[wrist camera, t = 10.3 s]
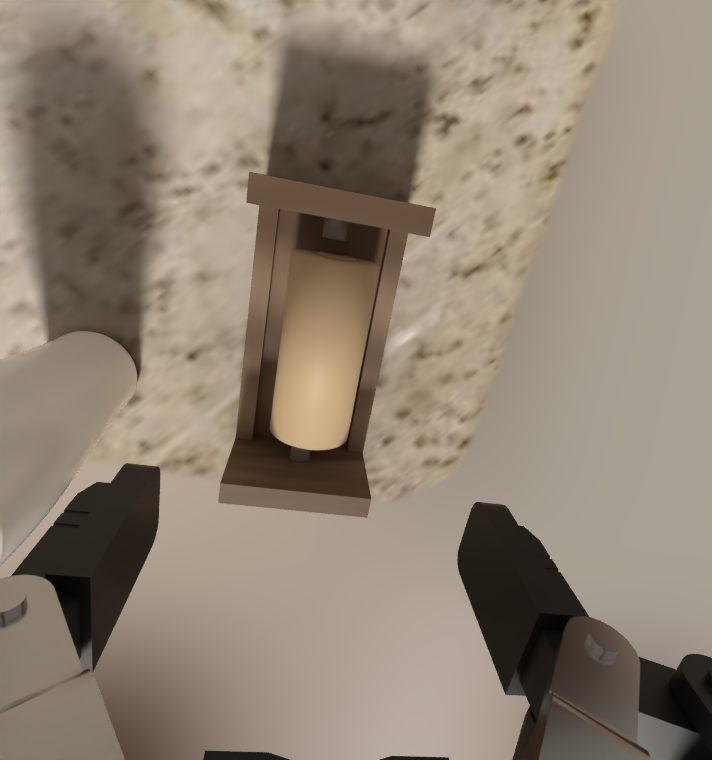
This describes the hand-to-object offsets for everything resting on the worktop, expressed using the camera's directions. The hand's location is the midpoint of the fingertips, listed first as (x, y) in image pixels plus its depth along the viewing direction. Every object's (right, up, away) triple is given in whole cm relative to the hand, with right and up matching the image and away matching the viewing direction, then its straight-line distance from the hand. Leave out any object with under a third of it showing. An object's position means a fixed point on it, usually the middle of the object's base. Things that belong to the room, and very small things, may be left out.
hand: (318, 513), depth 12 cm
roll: (-1, +6, +16) cm, 17 cm away
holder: (-1, +6, +17) cm, 18 cm away
